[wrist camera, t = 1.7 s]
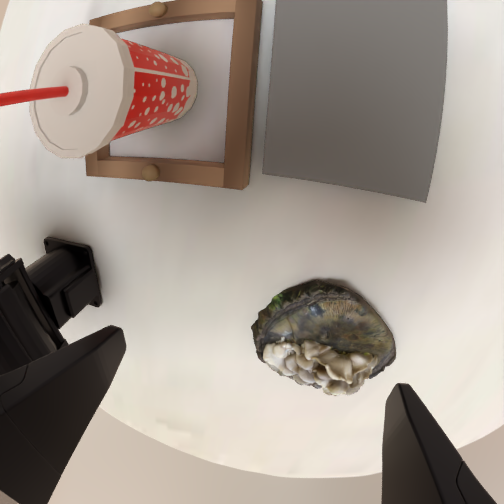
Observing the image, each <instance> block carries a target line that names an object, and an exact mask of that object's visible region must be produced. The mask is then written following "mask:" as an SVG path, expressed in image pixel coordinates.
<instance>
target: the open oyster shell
mask: <svg viewBox="0 0 504 504" xmlns="http://www.w3.org/2000/svg"><path fill="white" fill-rule="evenodd" d="M251 329H252V331H253V337H254V338H253V339H254V344H255V346H256V349H257V350H256V353H257V355H258V358H259V359H260V360H261V361H262V362H263V363H266V364H267V365H268V366H269V367H270V368H271V369H272V370H273V371H275V372H277V373H279V375H280V376H287V377H289V378H291V379H293V380H295V381H296V382H297V383H298V384H300V385H308V386H310V385H312V386H313V387H315V388H317V389H318V388H323V392H324V393H325V394H328V395H334V396H337V395H341V394H345V395H351V394H354V393H355V392H357V391H358V390H359V389H360V387H361V386H363V384H364V379H368V378H370V379H371V378H373V377H375V376H377V375H378V374H379V373H380V372H382V371H384V369H385V366H389V365H391V364H392V362H393V361H394V360H395V358H396V348H395V342H394V338H393V335H392V333H391V332H390V330H389V328H388V327H387V325H386V324H385V323H384V321H383V320H382V319H381V317H380V316H379V315H378V314H377V313H376V312H375V311H374V310H373V309H372V308H371V306H370V305H369V304H368V303H367V302H366V301H365V300H364V299H363V298H362V297H361V296H360V295H358V294H356V293H354V292H353V291H351V290H349V289H347V288H345V287H342V286H338V285H334V284H330V283H326V282H322V281H319V280H314V281H311V282H308V283H305V284H302V285H299V286H296V287H292V288H289V289H286V290H284V291H282V292H281V293H280V294H278V295H276V296H275V297H274V298H273V299H272V301H271V303H270V304H269V305H268V306H267V307H266V308H265V309H263V310H261V311H260V312H259V313H258V320H256V321H255V323H254V324H253V325H252V326H251Z"/></svg>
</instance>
